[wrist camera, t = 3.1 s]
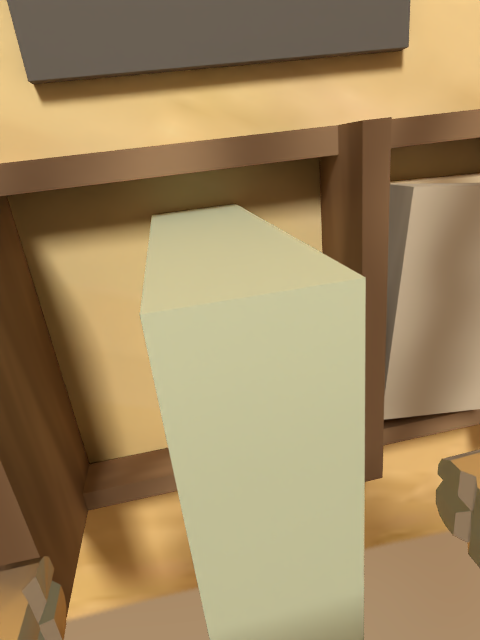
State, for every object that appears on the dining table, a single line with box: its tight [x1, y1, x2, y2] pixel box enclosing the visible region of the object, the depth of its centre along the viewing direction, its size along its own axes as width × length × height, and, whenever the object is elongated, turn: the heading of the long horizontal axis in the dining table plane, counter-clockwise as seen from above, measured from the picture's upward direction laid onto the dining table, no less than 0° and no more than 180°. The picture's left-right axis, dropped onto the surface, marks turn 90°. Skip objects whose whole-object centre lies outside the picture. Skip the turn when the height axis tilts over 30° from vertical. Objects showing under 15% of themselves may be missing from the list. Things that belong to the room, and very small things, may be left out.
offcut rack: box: [0, 109, 480, 617], centre depth 16 cm, size 24×15×7 cm, turn 96°
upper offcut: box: [384, 183, 480, 420], centre depth 18 cm, size 6×10×2 cm, turn 0°
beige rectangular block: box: [140, 204, 366, 640], centre depth 14 cm, size 4×10×12 cm, turn 6°
